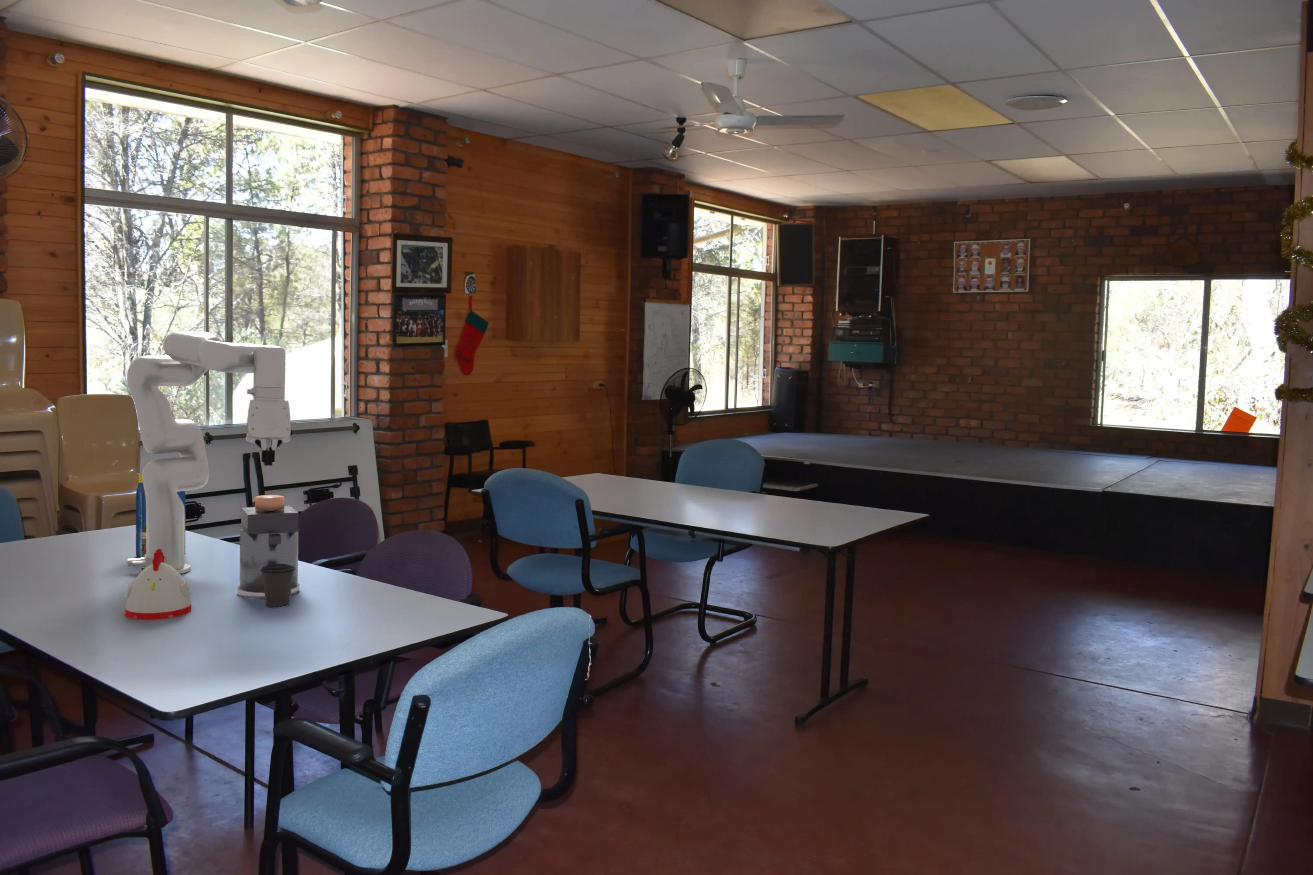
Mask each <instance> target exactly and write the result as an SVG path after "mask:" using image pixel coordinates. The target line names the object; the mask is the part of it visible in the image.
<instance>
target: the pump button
mask: <svg viewBox="0 0 1313 875" xmlns="http://www.w3.org/2000/svg"><path fill="white" fill-rule="evenodd" d="M284 506H285V496H283V495H277V494H267V495H266V494H265V495H264V494H263V495H257V496H255V497H254V507H255V509H256V510H262V511H274V510H282V509H284Z"/></svg>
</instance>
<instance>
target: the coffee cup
mask: <svg viewBox="0 0 1313 875" xmlns="http://www.w3.org/2000/svg"><path fill="white" fill-rule="evenodd" d="M294 570H295V568H294V566H291V565H287V564H271V565H268V566H265V567H262V569H261V570H260V571H261V572H262V573H263V582H264V591H265V599H264V600H265V606H266V607H268V608H272V609H273V608H285V607H287V606H290V603H291V602H290V600H291V596H290V595H291V587H292V579H293V572H294Z"/></svg>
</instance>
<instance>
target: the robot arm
mask: <svg viewBox="0 0 1313 875" xmlns="http://www.w3.org/2000/svg"><path fill="white" fill-rule="evenodd" d="M162 348H163V351H164V353H165V354H166V355H164V354H163V355H161V354H160V355H159V354H157V355H156V354H151V355H143V356H139V357H137V358H135V359H134V360H133V361H132V362H131V363H130V364H129V366H128V369H127V375H126V380H127V381H126V382H127V386H128V389H129V393H130V395H131V398H132V400H133V402H134V406H135V409H136V416H137V422H138V427H139V432H140V438H141V442H142V445H143V449H144V450H145V451H146V452H147V453H149V454H153V455H165V454H167V455H168V454H178V455H179V457H176V456H175V457H166V458H165V457H164V458H158V459H153V460H151V461H149V462H148V463H146V464H145V466H144V467H143V469H142V473H141V474H142V481H143V486H144V490H145V497H146V554H145V557H141V558H128V559H127V567H134V568H135V567H140V568H139V574H140V573H141V572H142V571H143V570H144V569H145V568H146V567H148V566H149V565H151V564H153V562H152V559H154V553H156V550H157V549H162V552H163V556H165V559H164V563H166V564H168V565H170V566H172V567H173V568H174V569H176V570H177V571H178V572H179V574H180V575H182V574H185V573H188V572H190V571H191V570H192V569H191V568H192V567H191V564H189V563H186V562H185V560H186V559H185V557H186V508H185V509H184V505H183V502H182V501H181V499H180V498H179V496H178V494H177V492H179V491H185V492H186V491H194V490H199V489H202V488H203V487H205V486H206V485H207V484H208V482H209V478H210V469H209V467H210V466H209V463H208V456H207V450H206V446H205V439H204V435H203V432H202V429H201V427H200V426H199V425H198V424H197V423H196V421H193V420H191V419H185V418H180V419H178V418H174V416H173V413H172V408H171V403H170V401H169V399H168V398H167V397H166V395H165V394H164V392H162V390H160V389H159V387H186V386H187V387H188V386H191V385H194V384H195V383H197V382H198V381H199V380H200V379H201V378H202V377H203V376H204V375H205V373H207V371H209V370H210V371H216V372H220V373H228V374H230V373H231V374H232V373H233V374H234V373H236V374H237V373H239V374H240V373H241V374H253V386H252V388H247V389H246V394H247V395H250V396H252V398H251V399H250V400H249V404H248V405H249V406H248V410H247V418H246V437H245V441H246V442H247V443H250V444H255V445H257V446H258V447H259V448H260V450H261V463H263V465H264V466H266V467H267V466H270V467H273V463H275V460H276V459H275V458H276V450H277V449H278V448H279V447H280V446H281V445H282V444H286V443H290V442H291V434H292V433H291V430H292V429H291V411H290V410H291V409H290V404H289V399H285V398H286V388H285V387H286V354H287V353H286V350H285V348H284V347H283V346H279V345H263V344H257V343H241V342H239V343H237V342H223V341H222V340H221V339H220V338H219V337H218V336H216V335H215V334H213V333H211V332H207V331H193V330H192V331H191V330H190V331H189V330H178V331H174V332H171V333H169V334H167V335H166V337H165V338H164V340H163V343H162ZM267 439H268V440H269V439H270V442H269V443H270V445H269V446H268V447H267V441H266V440H267Z"/></svg>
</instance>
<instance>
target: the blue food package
mask: <svg viewBox="0 0 1313 875" xmlns="http://www.w3.org/2000/svg"><path fill="white" fill-rule="evenodd" d="M135 493H136V494H135V556H136V557H137V558H138V559H141V557H145V554H146V497H145V490H144V486H143V481H142V473H138V484H137V488H136V492H135ZM177 494H178V496H179V498H180V499H181V501H182V502H183V505H184V509H185V510H186V491H179V492H177Z"/></svg>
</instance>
